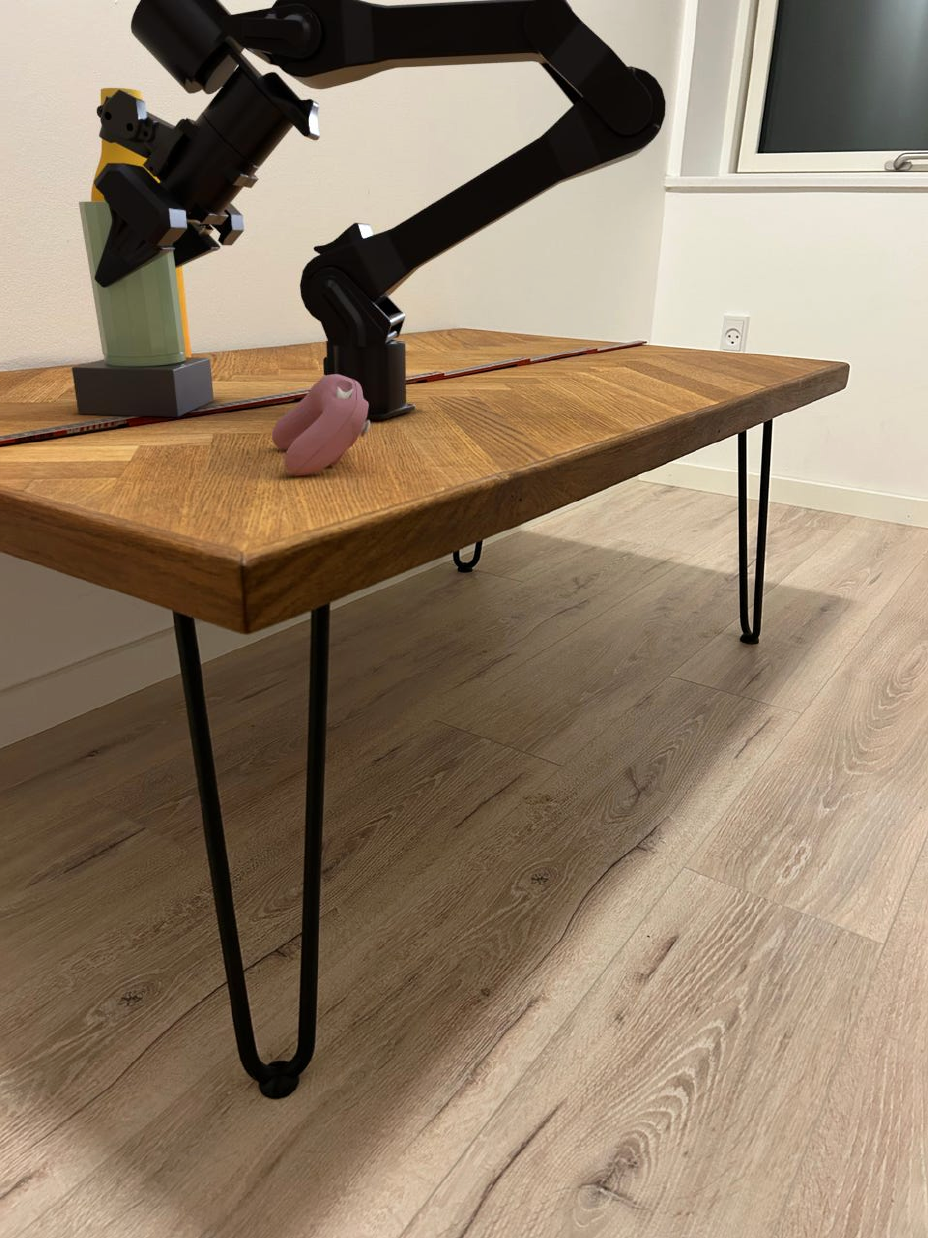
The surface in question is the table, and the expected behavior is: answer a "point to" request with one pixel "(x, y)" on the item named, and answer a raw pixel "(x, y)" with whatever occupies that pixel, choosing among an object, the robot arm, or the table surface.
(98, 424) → the table surface
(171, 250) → the robot arm
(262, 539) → the table surface
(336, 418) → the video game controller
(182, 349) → the cup
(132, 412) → the block
